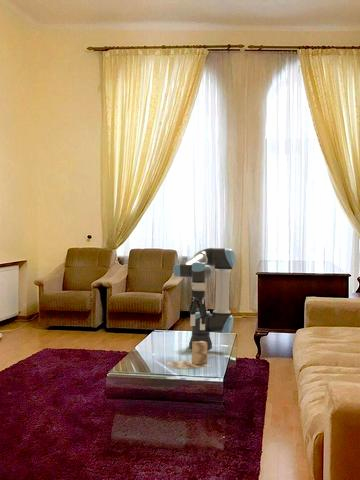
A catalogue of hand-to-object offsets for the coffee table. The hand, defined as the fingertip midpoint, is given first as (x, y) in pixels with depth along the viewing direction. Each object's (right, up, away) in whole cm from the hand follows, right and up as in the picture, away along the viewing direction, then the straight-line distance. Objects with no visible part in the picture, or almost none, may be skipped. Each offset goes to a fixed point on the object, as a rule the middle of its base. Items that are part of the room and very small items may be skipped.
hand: (197, 327), depth 306 cm
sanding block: (+1, -20, 0) cm, 20 cm away
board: (-5, -21, -3) cm, 22 cm away
